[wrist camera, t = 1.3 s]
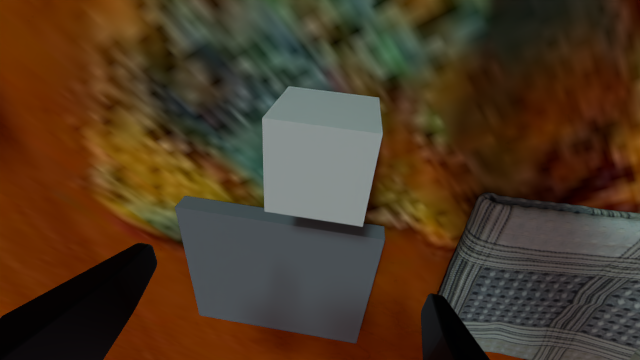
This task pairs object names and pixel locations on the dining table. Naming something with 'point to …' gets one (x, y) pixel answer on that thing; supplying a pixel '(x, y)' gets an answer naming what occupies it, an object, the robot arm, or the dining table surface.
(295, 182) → the white cube
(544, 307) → the dish towel
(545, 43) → the dining table surface
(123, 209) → the dining table surface
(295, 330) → the slate board
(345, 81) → the dining table surface
